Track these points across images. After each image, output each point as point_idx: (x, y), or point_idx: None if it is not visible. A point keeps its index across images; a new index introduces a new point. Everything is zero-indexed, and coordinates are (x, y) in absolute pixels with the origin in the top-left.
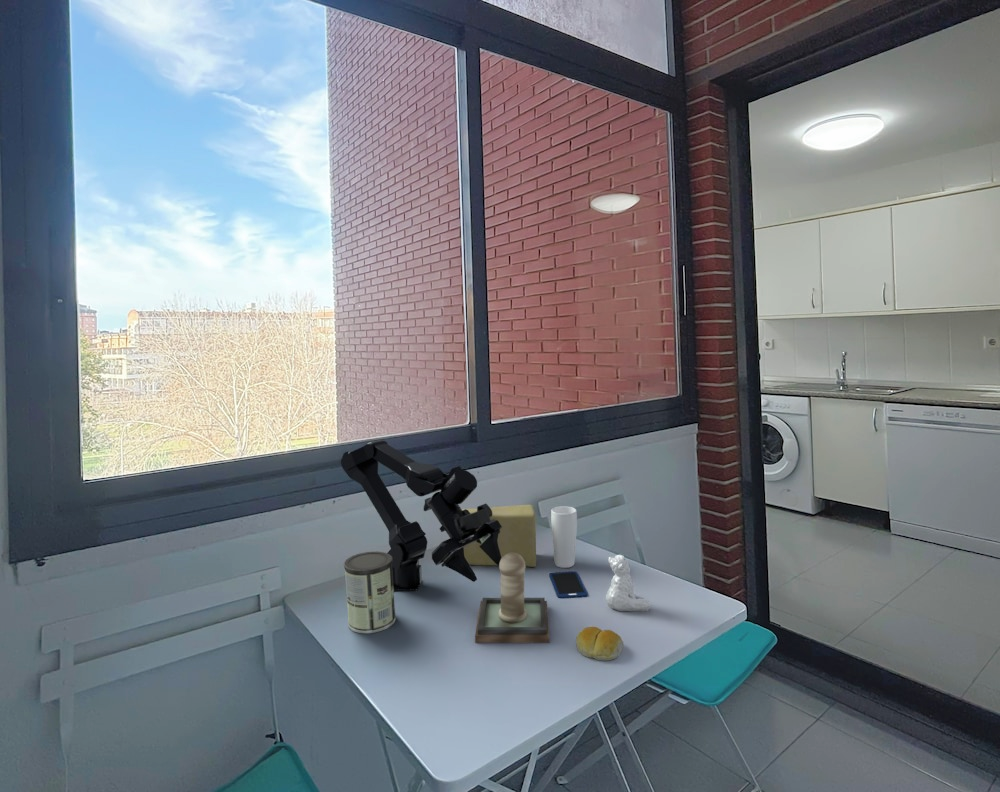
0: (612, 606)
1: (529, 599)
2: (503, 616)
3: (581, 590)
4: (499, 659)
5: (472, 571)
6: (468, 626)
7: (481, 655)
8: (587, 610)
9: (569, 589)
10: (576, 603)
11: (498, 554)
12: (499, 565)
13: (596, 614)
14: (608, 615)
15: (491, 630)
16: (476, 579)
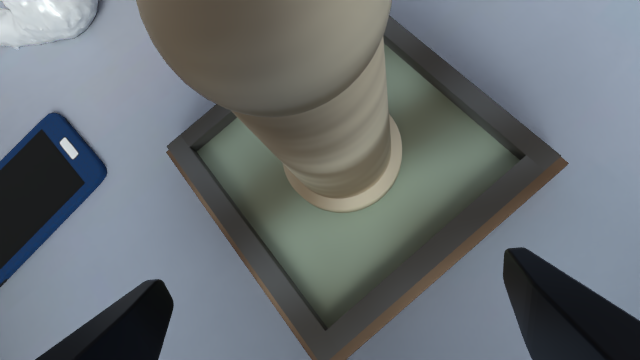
0: (94, 4)
1: (209, 179)
2: (399, 146)
3: (34, 143)
4: (556, 37)
5: (561, 294)
6: (490, 289)
7: (594, 94)
8: (135, 58)
9: (42, 177)
10: (112, 108)
11: (82, 344)
12: (367, 30)
13: (143, 28)
14: (132, 5)
15: (508, 116)
16: (515, 248)
